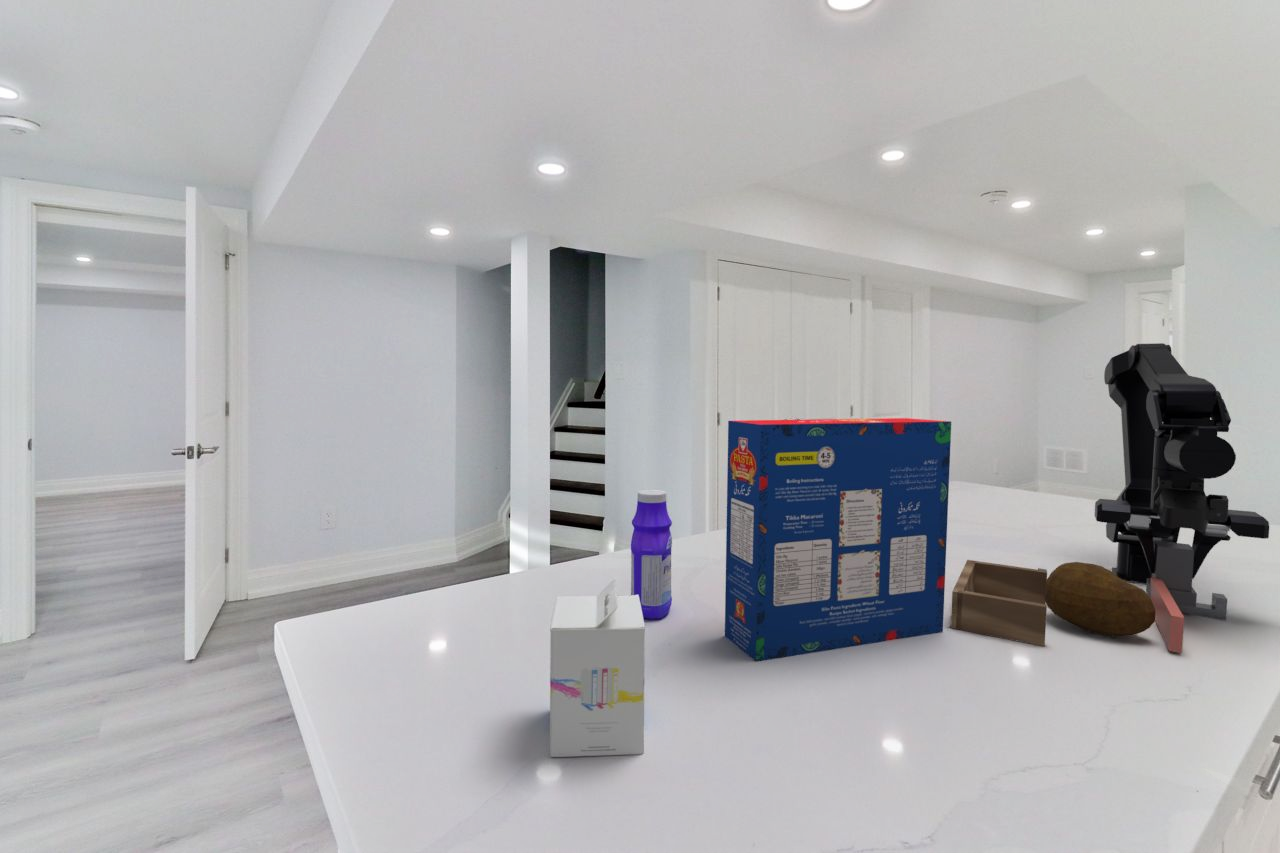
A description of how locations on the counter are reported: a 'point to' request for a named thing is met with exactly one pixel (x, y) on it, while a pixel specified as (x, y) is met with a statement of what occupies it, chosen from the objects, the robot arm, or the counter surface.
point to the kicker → (1172, 589)
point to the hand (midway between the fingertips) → (1171, 575)
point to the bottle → (651, 554)
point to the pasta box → (834, 533)
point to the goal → (1000, 601)
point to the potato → (1098, 600)
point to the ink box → (597, 675)
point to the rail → (1205, 607)
